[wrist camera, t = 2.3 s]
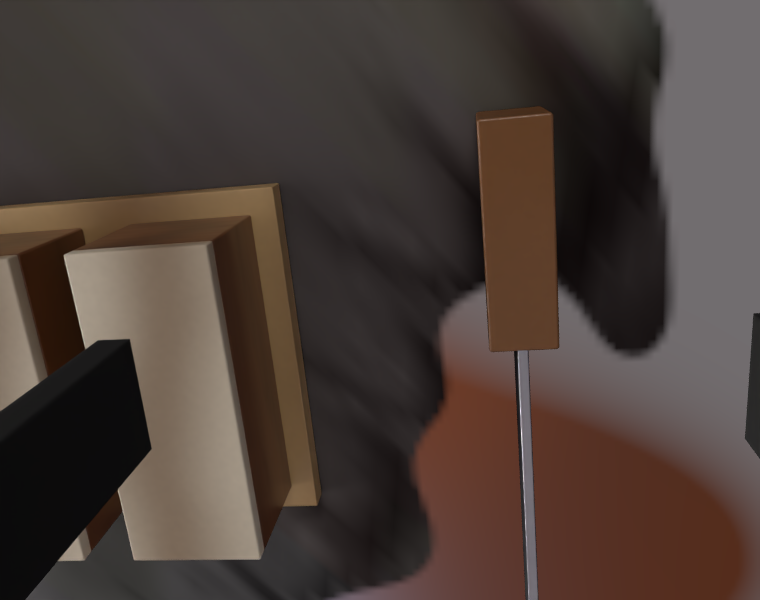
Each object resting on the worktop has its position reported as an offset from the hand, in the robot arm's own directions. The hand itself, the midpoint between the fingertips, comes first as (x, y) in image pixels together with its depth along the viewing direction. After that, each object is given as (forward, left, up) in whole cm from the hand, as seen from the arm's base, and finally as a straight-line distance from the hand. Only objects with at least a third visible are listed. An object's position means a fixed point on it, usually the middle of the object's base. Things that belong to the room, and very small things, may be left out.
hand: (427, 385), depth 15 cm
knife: (-3, +7, -14) cm, 16 cm away
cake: (+13, +4, -14) cm, 20 cm away
